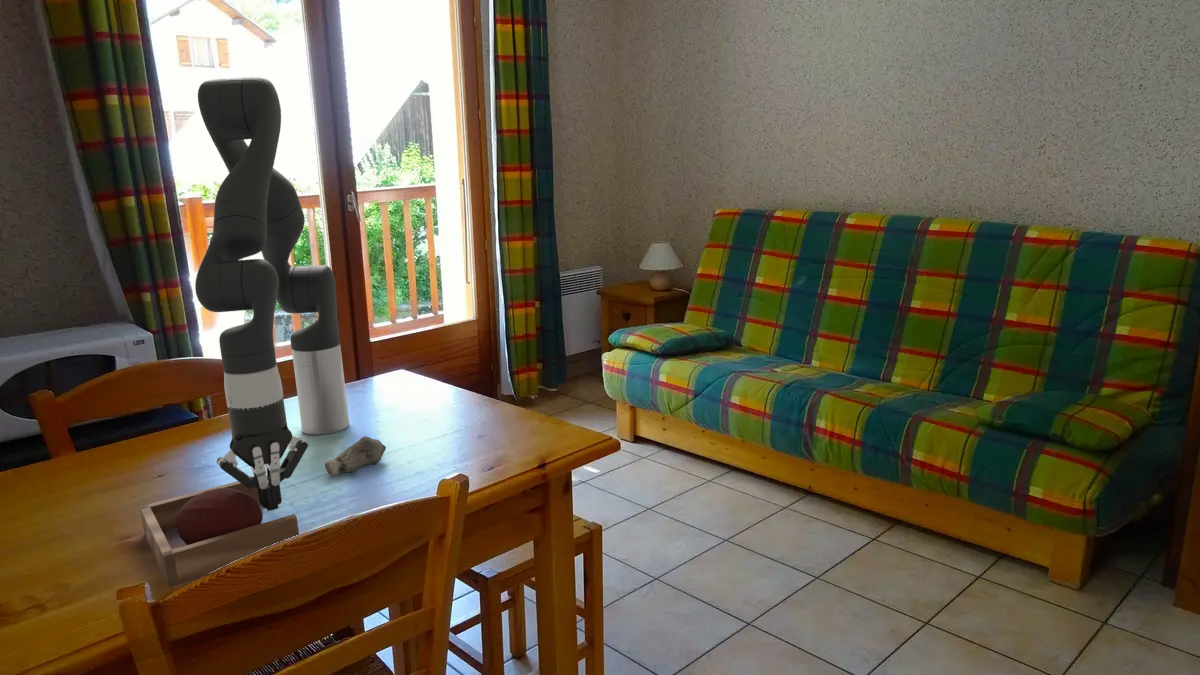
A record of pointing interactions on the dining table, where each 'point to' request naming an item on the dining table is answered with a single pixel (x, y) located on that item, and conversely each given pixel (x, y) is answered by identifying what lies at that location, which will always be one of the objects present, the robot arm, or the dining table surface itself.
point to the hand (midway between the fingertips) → (271, 508)
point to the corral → (212, 551)
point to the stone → (356, 456)
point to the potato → (216, 514)
